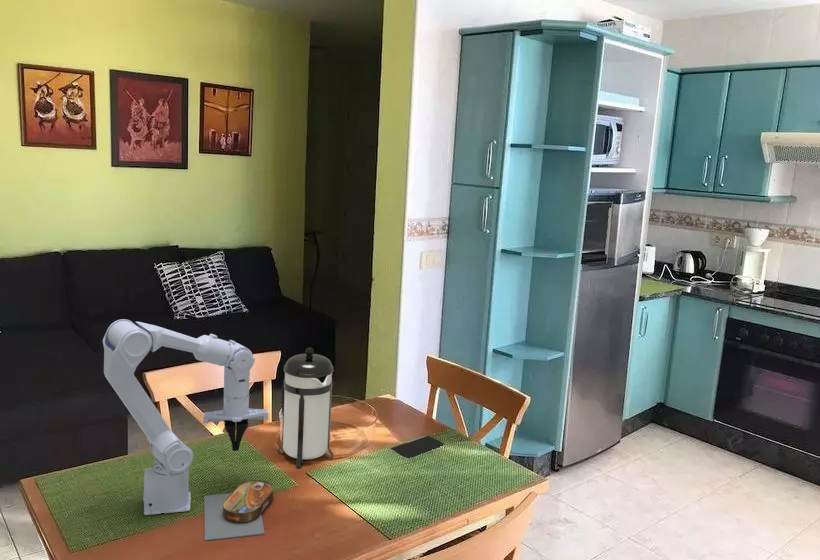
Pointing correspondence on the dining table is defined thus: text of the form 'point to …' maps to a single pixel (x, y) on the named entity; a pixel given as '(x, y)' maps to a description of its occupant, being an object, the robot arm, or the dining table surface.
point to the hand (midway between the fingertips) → (235, 449)
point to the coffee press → (307, 406)
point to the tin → (248, 501)
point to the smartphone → (417, 447)
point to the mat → (226, 521)
